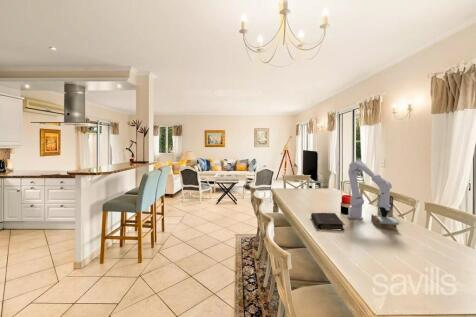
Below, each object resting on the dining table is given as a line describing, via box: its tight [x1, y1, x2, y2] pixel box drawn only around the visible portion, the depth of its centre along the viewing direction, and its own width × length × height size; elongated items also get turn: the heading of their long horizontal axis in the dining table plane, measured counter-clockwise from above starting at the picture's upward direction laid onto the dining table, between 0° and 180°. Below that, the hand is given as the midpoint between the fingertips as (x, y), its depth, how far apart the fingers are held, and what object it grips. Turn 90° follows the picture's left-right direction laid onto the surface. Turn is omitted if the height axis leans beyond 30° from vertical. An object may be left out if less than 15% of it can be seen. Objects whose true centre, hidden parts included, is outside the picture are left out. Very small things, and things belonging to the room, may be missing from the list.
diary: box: [310, 212, 346, 231], centre depth 174 cm, size 19×25×5 cm
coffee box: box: [377, 194, 394, 217], centre depth 196 cm, size 9×6×16 cm
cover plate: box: [376, 215, 400, 226], centre depth 165 cm, size 10×11×2 cm
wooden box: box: [370, 213, 398, 229], centre depth 172 cm, size 12×13×5 cm
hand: (383, 217), depth 171 cm, fingers closed
